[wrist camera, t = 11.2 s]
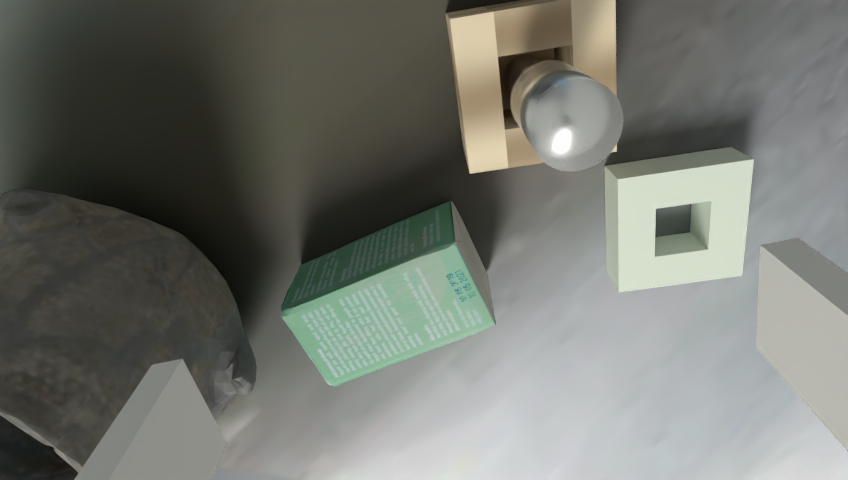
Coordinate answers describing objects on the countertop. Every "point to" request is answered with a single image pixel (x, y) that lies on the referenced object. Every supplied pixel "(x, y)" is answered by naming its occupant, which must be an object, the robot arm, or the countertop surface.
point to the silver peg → (563, 112)
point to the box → (390, 296)
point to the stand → (672, 186)
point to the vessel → (100, 326)
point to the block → (507, 39)
